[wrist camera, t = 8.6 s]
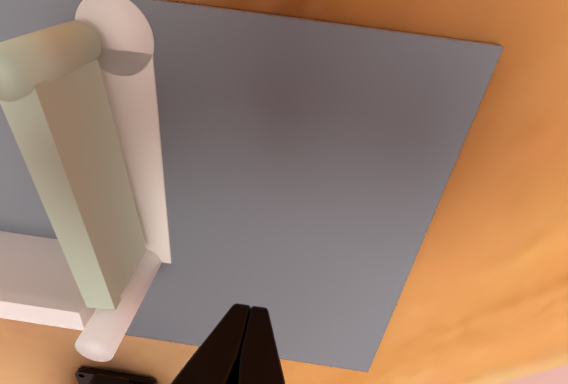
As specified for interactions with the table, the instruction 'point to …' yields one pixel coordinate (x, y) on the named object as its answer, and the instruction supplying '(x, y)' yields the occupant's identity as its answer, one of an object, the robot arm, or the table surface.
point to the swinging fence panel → (73, 154)
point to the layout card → (251, 173)
